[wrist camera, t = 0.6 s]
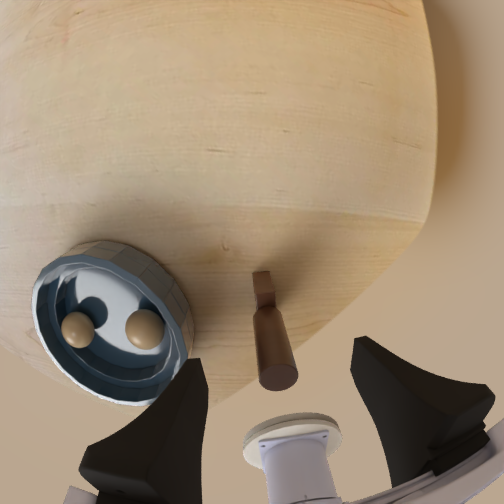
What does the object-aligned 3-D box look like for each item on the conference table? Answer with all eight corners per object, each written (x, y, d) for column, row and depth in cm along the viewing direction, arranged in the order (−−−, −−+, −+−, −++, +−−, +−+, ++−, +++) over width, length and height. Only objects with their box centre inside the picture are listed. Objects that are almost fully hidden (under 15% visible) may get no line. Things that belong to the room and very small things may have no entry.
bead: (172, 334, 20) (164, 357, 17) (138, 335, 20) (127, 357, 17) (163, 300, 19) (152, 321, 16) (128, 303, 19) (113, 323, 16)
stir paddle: (276, 313, 20) (298, 400, 12) (253, 316, 20) (262, 405, 12) (273, 270, 19) (298, 345, 11) (248, 272, 19) (255, 351, 11)
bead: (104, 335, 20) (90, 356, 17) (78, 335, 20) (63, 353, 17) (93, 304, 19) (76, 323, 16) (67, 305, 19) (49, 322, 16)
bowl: (208, 375, 22) (204, 408, 18) (86, 372, 22) (71, 397, 18) (177, 227, 18) (161, 243, 14) (40, 249, 18) (12, 264, 14)
